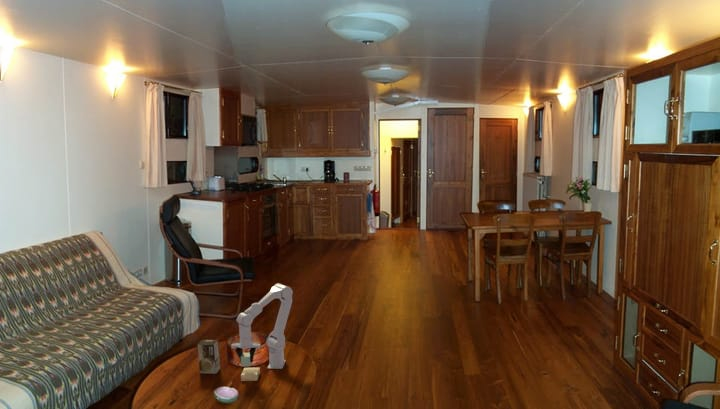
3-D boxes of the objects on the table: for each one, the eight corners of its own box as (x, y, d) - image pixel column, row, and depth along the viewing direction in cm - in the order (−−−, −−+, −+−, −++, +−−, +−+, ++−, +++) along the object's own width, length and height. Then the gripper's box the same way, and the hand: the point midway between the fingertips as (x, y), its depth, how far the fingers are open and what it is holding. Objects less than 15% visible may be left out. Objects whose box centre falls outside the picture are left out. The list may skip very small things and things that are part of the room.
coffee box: (220, 368, 266) (218, 339, 264) (216, 374, 260) (214, 344, 258) (204, 367, 267) (202, 339, 265) (199, 373, 261) (197, 344, 259)
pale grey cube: (243, 362, 258) (243, 352, 257) (252, 362, 258) (252, 353, 257) (241, 366, 253) (240, 356, 253) (250, 366, 253) (249, 357, 252)
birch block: (244, 374, 260) (244, 367, 260) (259, 373, 260) (259, 367, 260) (241, 381, 252) (240, 375, 252) (257, 381, 253) (256, 374, 252)
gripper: (228, 339, 250) (230, 364, 252) (257, 339, 249) (258, 365, 251) (233, 333, 257) (234, 358, 259) (261, 333, 256) (262, 358, 258)
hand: (246, 361), depth 255 cm, fingers closed on pale grey cube, 5 cm apart
